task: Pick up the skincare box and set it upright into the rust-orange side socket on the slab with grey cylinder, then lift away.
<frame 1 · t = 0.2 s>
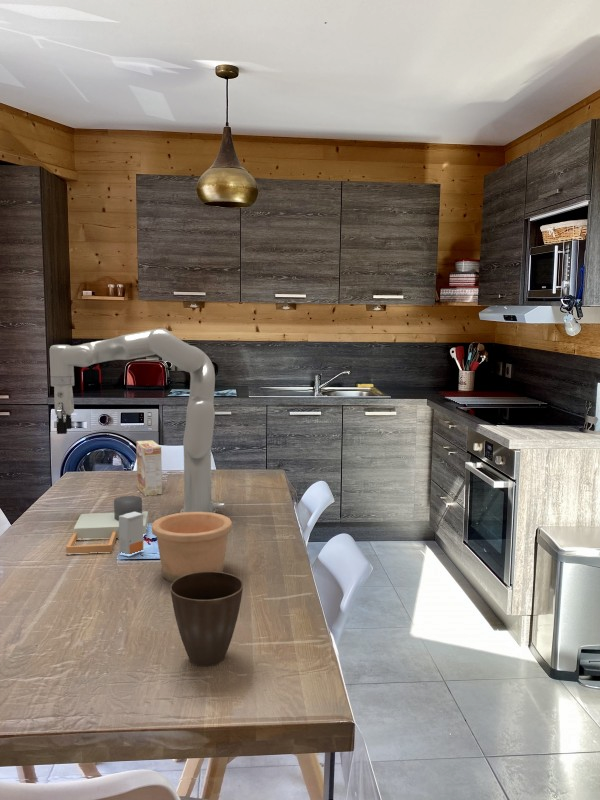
hand: (64, 431, 234), 31 cm above the table, tool pointing down, fingers open, 9 cm apart
plant pot: (207, 658, 144), on the table
skincare box: (131, 554, 205), on the table
pottery: (192, 573, 191), on the table
slab with grey cylinder: (112, 531, 226), on the table
coffeecake box: (149, 491, 276), on the table
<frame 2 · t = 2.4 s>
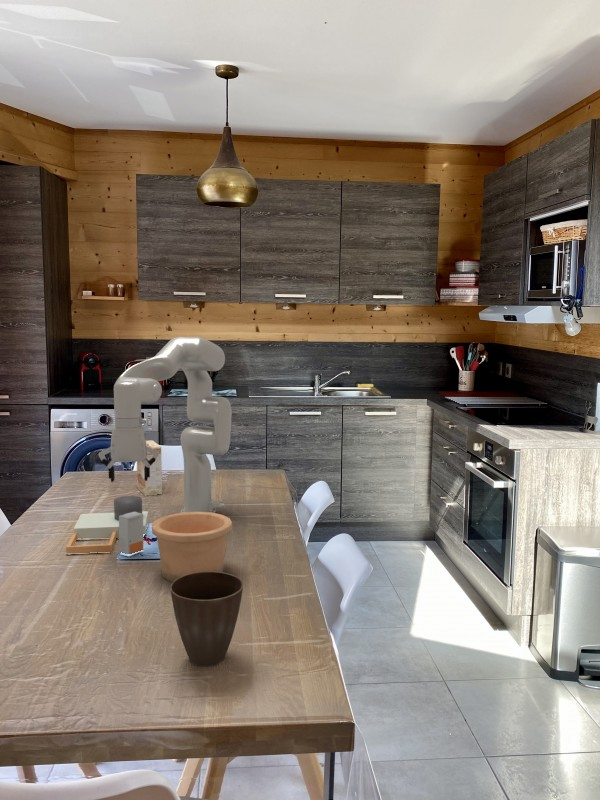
hand: (129, 480, 203), 22 cm above the table, tool pointing down, fingers open, 9 cm apart
nothing on the table moved.
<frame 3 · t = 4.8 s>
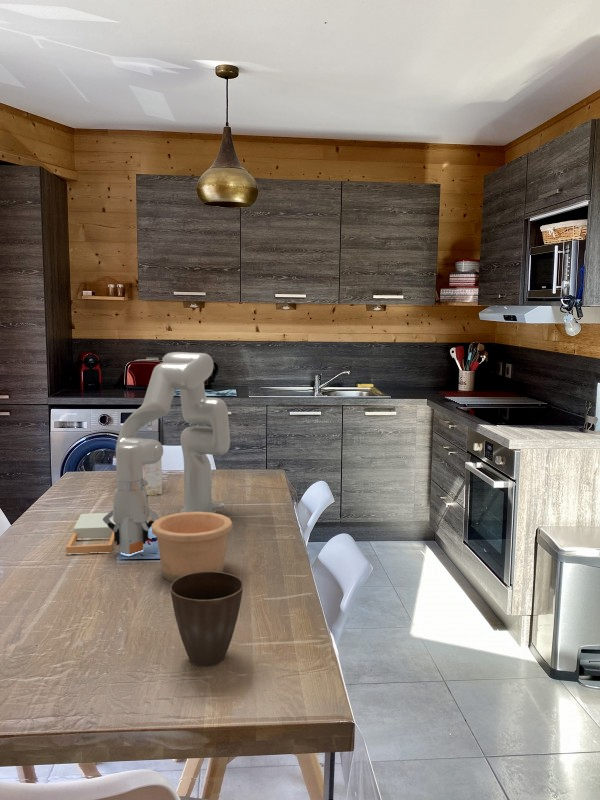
hand: (131, 542, 205), 3 cm above the table, tool pointing down, fingers closed on skincare box, 7 cm apart
skincare box: (132, 554, 205), on the table, touching gripper
everything else where it was.
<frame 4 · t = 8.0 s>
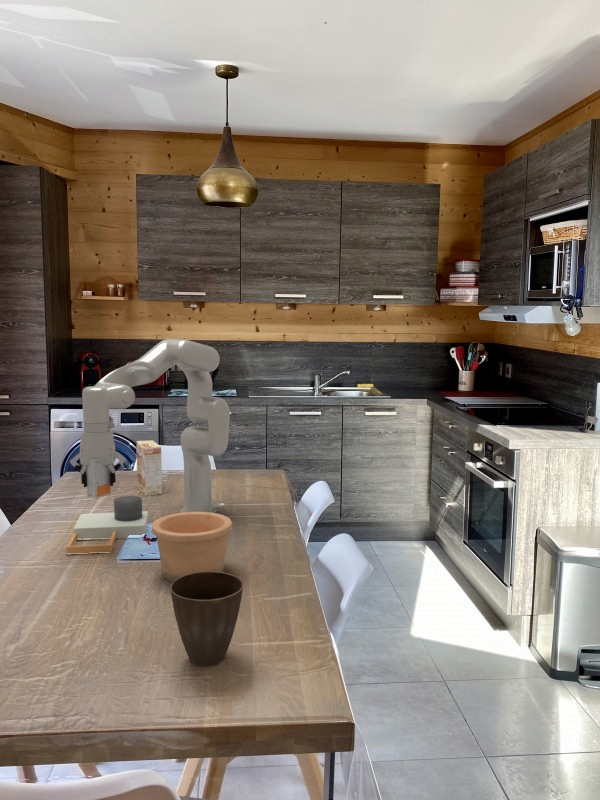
hand: (98, 485, 208), 20 cm above the table, tool pointing down, fingers closed on skincare box, 7 cm apart
skincare box: (99, 496, 208), point 16 cm above the table, touching gripper
everything else where it was.
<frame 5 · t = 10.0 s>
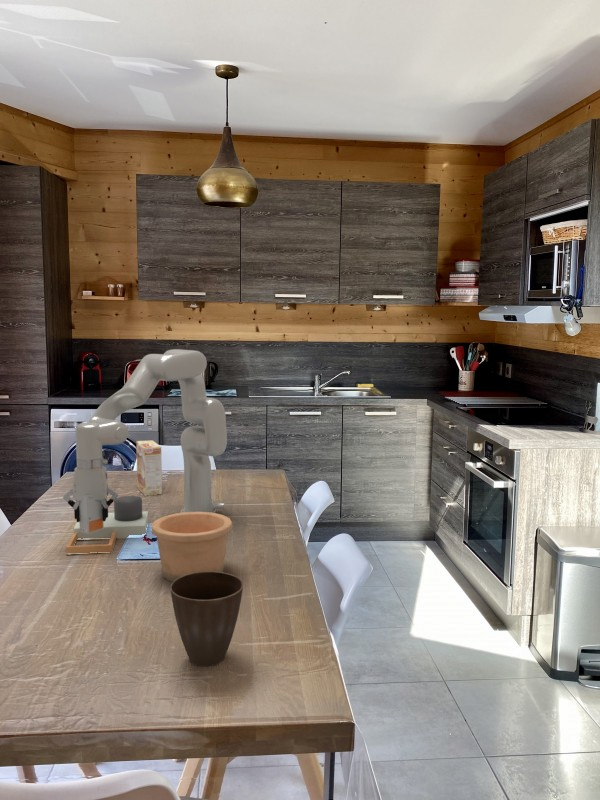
hand: (91, 520, 210), 8 cm above the table, tool pointing down, fingers closed on skincare box, 7 cm apart
skincare box: (92, 531, 211), point 5 cm above the table, touching gripper
everything else where it was.
when the fingers open (5 cm above the table, at t = 11.4 s): skincare box drops 1 cm, resting in slab with grey cylinder.
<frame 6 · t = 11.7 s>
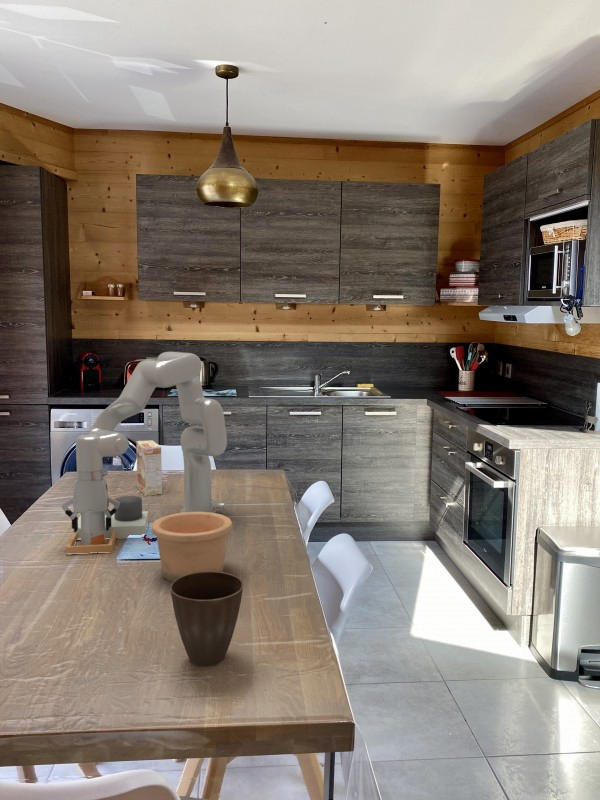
hand: (92, 529, 211), 5 cm above the table, tool pointing down, fingers open, 9 cm apart
skincare box: (93, 546, 211), resting in slab with grey cylinder
everything else where it was.
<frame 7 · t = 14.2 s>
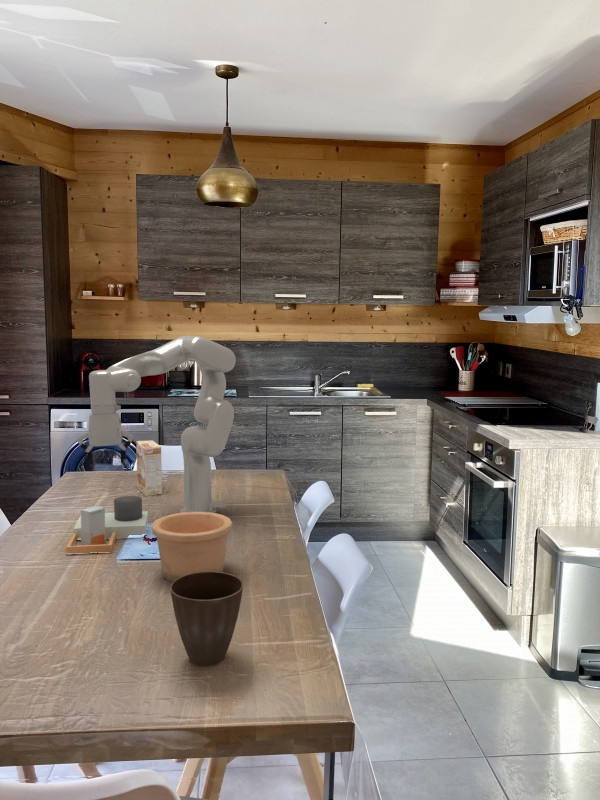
hand: (107, 462, 218), 24 cm above the table, tool pointing down, fingers open, 9 cm apart
nothing on the table moved.
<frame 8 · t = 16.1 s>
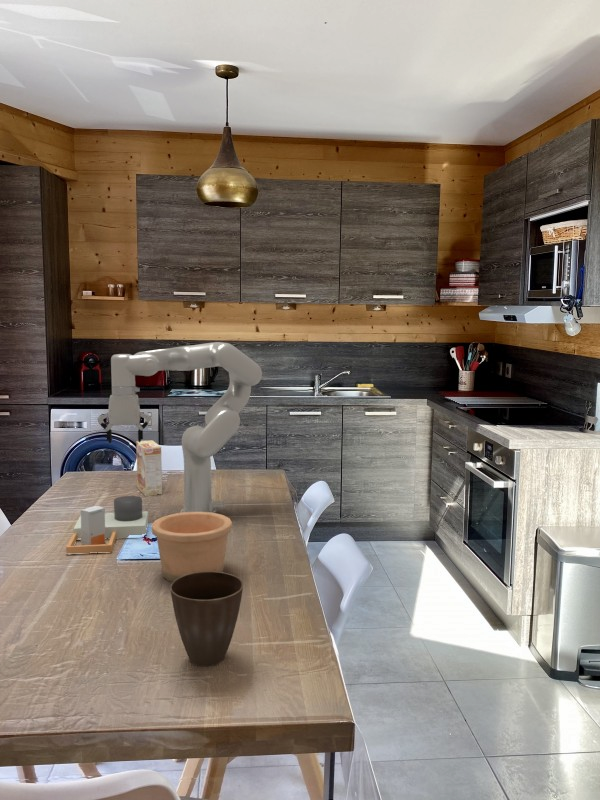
hand: (125, 441, 230), 28 cm above the table, tool pointing down, fingers open, 9 cm apart
nothing on the table moved.
at the end: skincare box inside the target area on the slab with grey cylinder (0.4 cm from its centre), point 0.0 cm above the slab with grey cylinder's base; skincare box tilted 0°; the gripper is holding nothing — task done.
